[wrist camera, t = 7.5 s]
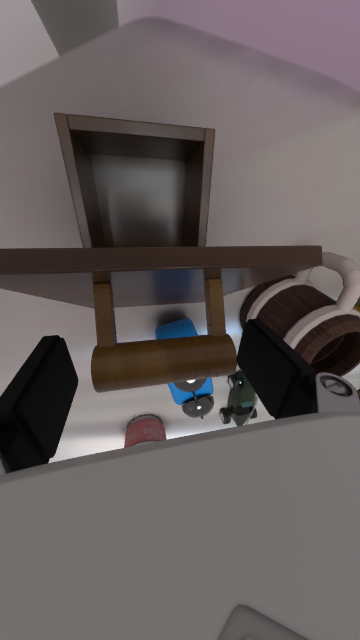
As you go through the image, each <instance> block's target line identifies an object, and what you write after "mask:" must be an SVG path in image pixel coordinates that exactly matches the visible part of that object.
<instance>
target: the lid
mask: <svg viewBox="0 0 360 640" xmlns="http://www.w3.org/2000/svg"><path fill="white" fill-rule="evenodd" d="M322 264H323V259H322V247H321V246H226V247H126V248H25V249H0V288H1V289H6V290H10V291H15V292H20V293H24V294H29V295H34V296H38V297H43V298H48V299H52V300H57V301H61V302H66V303H71V304H75V305H80V306H85V307H89V308H94V309H95V320H96V333H97V346H95V348H94V350H93V354H92V360H91V375H92V382H93V386H94V389H95V391H96V392H98V393H101V392H108V391H115V390H123V389H130V388H137V387H145V386H152V385H160V384H167V383H174V382H182V381H189V380H196V379H204V378H211V377H218V376H226V375H232V374H233V373H234V372H235V370H236V366H237V355H236V349H235V346H234V343H233V341H232V339H231V337H230V336H229V335H228V334H226V329H225V315H224V301H223V295H227V294H230V293H233V292H236V291H239V290H243V289H246V288H249V287H252V286H256V285H259V284H262V283H265V282H268V281H272V280H275V279H278V278H281V277H285V276H288V275H291V274H294V273H297V272H301V271H304V270H307V269H310V268H313V267H317V266H320V265H322ZM204 301H205V304H206V317H207V331H208V335H199V336H188V337H177V338H167V339H156V340H146V341H135V342H124V343H117V338H116V326H115V313H114V308H116V307H132V306H148V305H164V304H180V303H196V302H204Z"/></svg>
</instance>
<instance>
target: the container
mask: <svg viewBox="0 0 360 640" xmlns="http://www.w3.org/2000/svg"><path fill="white" fill-rule="evenodd" d="M163 440H166V434H165V429H164V426H163V425H162V423H161V422H160V421H159V419H158V418H157V417H155V416H151V415H145V416H141V417H138V418H136V419H134V420H133V421H132V422H131V424H130V426H129V428H128V430H127V432H126V436H125V446H124V448H127V447H132V446H137V445H142V444H148V443H153V442H158V441H163Z"/></svg>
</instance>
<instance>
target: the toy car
mask: <svg viewBox="0 0 360 640" xmlns="http://www.w3.org/2000/svg"><path fill="white" fill-rule="evenodd" d="M236 376H237V379H238V382H237V380H236V378H235V377H234V376H233V375H230V376H229V377H228V382H229V386H230V388H231V393H230V399H229V404H228V411H229V412H228V411H227V409H224V410H221V411H220V415H221V419H222V422H223V423H224V424H228V423H230V421H231V417H232V419H233V420H234V422H235V423H236V425H237V426H242V425H243V424H244V423H245V422H246V420H247V419H248V420H247V422H246V424H245V425H247V423H248V421H249V419H252V418H256V417H257V411H256V409H255V406H256V403H257V398H258V397H257V395H256V392H255V391H254V389H253V388H252V386H251V384H250V383H248V382H247V383H245V382H246V381H245V380H246V379H245V380H244V377H245V376H243V372H240V373H238V374H237V375H236ZM245 378H246V377H245ZM247 381H248V380H247ZM239 386H240V387H239ZM237 387H238V388H237ZM235 412H236V413H237V415H236V414H235ZM248 417H249V418H248Z"/></svg>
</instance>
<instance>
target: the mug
mask: <svg viewBox="0 0 360 640" xmlns="http://www.w3.org/2000/svg"><path fill="white" fill-rule="evenodd" d="M322 259H323V264H322V265H320V266H324V267H327V268H329V269H332V270H334V271H337V272H338V273H339V274H340V276H341V277H342V279H343V285H344V289H343V290H342V292H341V294H340V295H339V297H338V300H337V302H336V301H334V300H333V299H331V298H330V297H328V296H327V295H325V294H323V293H322V292H321V291H320V289H319V288H318V287H316V286H315V285H314V284H313V283H312V282H311V281H309V280H307V278H308V276H309V274H310V272H311V271H312V269H313V268H314V267H313V268H310V269H307V270H304V271H301V272H297V274H296V276H291V275H288V276H285V277H281V278H278V279H275V280H272V281H268V282H265V283H263V284H262V285H261V286H259V287H258V288H257V289H255V291H254V292H253V293H252V294H251V296H250V297H249V298H248V299H247V301H246V303H245V305H244V308H243V310H242V315H241V324H242V329H243V328H244V324H245V322H247V321H248V320H249V319H257V318H259V319H261V320H262V321H263V322H264V323H265V324H266V325H267V326H269V327H270V328H271V329H272V330H273V331H274V332H275V333H276V334H277V335H278V336H279V337H281V338H282V339H283V340H284V341H285V342H286V343H287V344H288V345H289V346H290V347H292V348H293V349H294V350H295V351H296V352H297V353H298V354H299V355H300V356H301V357H302V358H304V359H305V360H306V361H307V362H308V363H309V364H310V365H311V366H312V367H313V368H314V369H315V370H314V372H313V373H314V374H315V375H317V374H318V373H322V372H325V373H331V374H335V375H337V376H340V377H342V376H343V375H345V374H347V373H348V372H350V371H351V370H352V369H354V368H355V367H356V366H357V365H358V364H359V363H360V313H359V312H358V311H357V310H355V309H354V308H353V307H354V305H355V304H356V302H357V300H358V298H359V296H360V269H359V267H358V266H357V265H356V264H355V262H354V261H353V260H352V259H349V258H346V257H343V256H340V255H337V254H334V253H330V252H326V253H322Z"/></svg>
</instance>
